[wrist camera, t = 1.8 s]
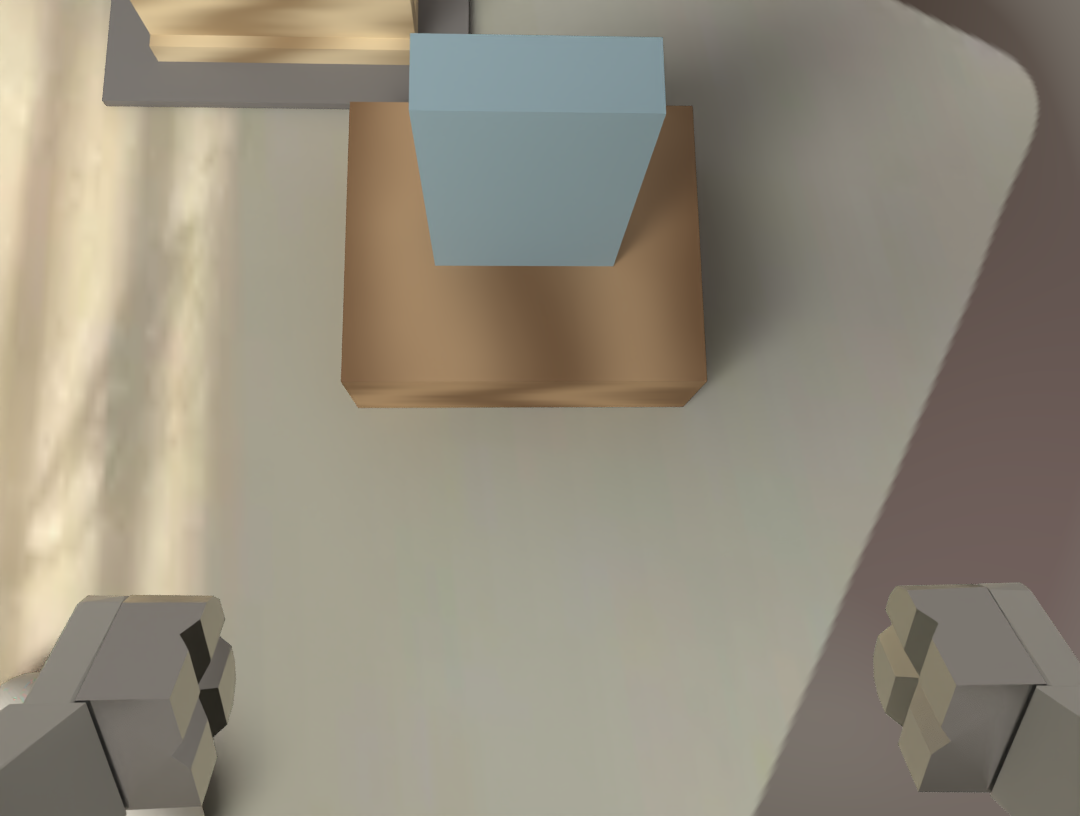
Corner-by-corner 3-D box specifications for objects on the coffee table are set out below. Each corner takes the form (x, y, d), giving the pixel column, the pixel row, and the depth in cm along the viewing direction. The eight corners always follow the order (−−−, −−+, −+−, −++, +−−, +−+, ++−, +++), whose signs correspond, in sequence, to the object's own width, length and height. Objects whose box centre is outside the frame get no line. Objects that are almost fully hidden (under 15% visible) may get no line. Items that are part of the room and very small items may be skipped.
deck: (358, 407, 34) (341, 381, 31) (365, 156, 37) (349, 101, 33) (683, 406, 35) (706, 381, 31) (671, 159, 37) (692, 106, 33)
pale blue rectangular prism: (435, 265, 32) (408, 110, 22) (435, 209, 32) (410, 33, 22) (613, 266, 32) (666, 113, 22) (611, 211, 32) (662, 37, 22)
